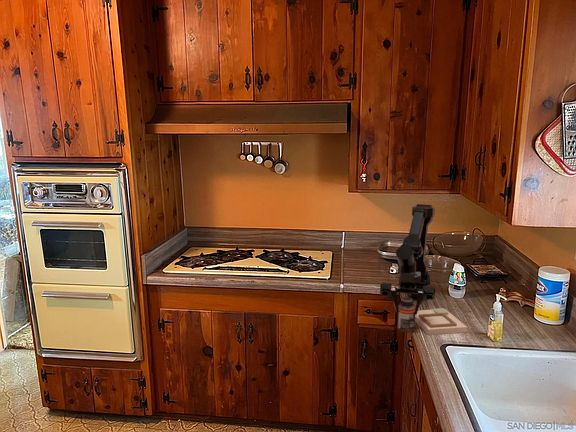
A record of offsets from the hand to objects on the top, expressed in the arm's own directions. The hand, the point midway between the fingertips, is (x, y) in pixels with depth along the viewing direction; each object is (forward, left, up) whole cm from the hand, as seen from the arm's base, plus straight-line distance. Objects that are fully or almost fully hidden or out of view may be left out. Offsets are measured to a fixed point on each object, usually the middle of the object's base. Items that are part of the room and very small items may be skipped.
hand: (406, 313), depth 149 cm
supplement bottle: (-1, +1, -7) cm, 7 cm away
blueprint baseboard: (-4, +14, -7) cm, 16 cm away
